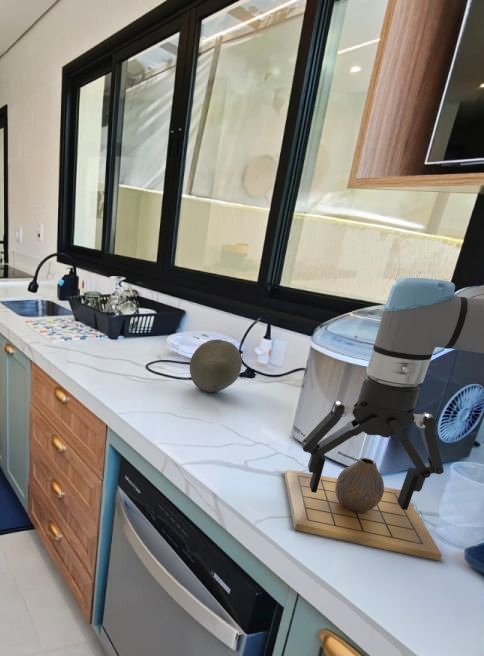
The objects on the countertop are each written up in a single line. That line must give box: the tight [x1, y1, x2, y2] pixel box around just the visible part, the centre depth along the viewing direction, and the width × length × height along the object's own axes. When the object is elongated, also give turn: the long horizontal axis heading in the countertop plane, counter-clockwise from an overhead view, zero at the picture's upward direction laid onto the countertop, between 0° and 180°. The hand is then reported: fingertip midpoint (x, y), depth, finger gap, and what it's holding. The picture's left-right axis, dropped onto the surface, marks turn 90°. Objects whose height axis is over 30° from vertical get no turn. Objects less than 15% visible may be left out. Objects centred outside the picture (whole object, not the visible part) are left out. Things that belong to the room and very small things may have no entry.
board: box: [284, 469, 443, 562], centre depth 88 cm, size 20×20×1 cm
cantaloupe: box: [189, 339, 243, 393], centre depth 141 cm, size 14×14×15 cm
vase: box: [335, 457, 385, 512], centre depth 86 cm, size 7×7×9 cm
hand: (356, 497), depth 87 cm, fingers open, 13 cm apart
